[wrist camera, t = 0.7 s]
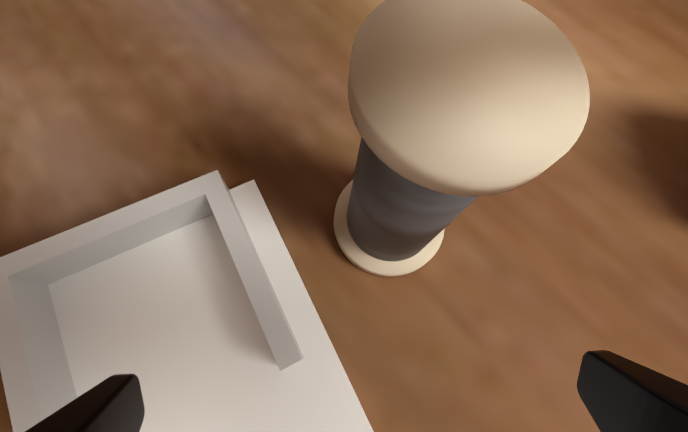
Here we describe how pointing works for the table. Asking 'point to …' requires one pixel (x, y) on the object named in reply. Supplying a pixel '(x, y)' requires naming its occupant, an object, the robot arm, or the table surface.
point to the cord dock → (173, 319)
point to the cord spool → (450, 119)
